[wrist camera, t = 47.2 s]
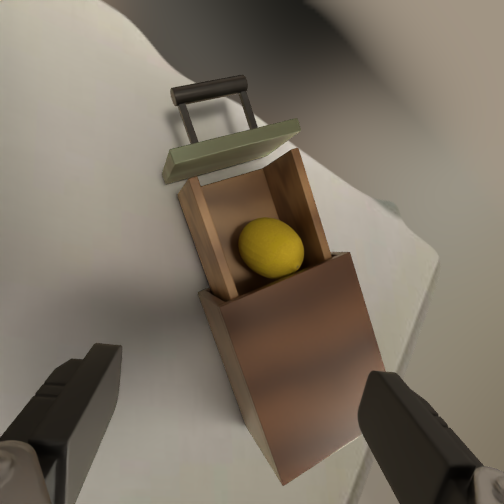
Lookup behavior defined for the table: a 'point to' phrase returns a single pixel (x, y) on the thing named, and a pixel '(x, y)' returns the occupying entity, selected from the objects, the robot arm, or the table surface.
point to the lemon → (271, 248)
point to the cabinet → (298, 361)
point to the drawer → (240, 190)
